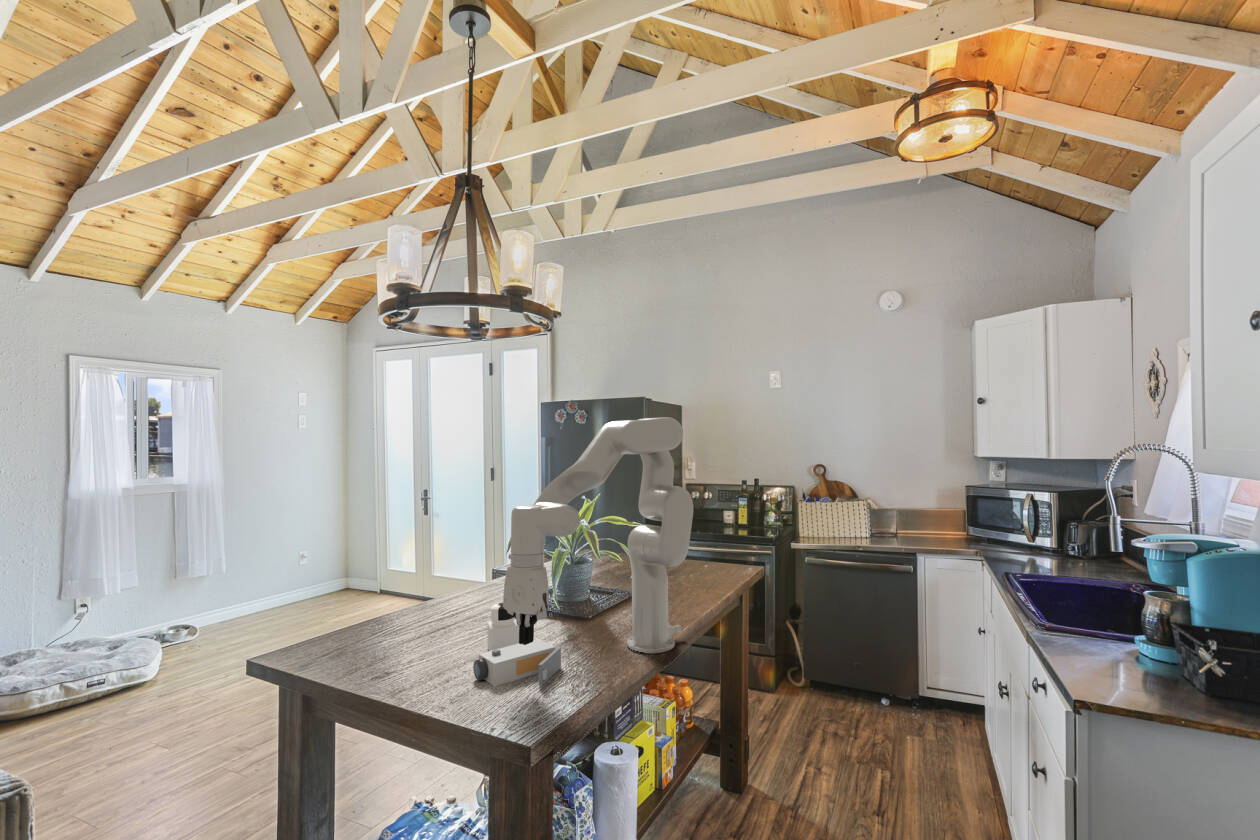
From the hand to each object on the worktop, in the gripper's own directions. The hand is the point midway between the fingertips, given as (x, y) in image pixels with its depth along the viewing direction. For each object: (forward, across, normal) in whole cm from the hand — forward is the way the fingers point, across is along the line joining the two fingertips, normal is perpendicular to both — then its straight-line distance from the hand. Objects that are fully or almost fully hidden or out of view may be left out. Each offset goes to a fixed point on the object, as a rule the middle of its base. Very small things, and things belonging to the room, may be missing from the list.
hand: (526, 642), depth 133 cm
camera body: (+9, -6, +4) cm, 12 cm away
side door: (+9, +3, +6) cm, 11 cm away
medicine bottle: (+9, -19, +13) cm, 25 cm away
